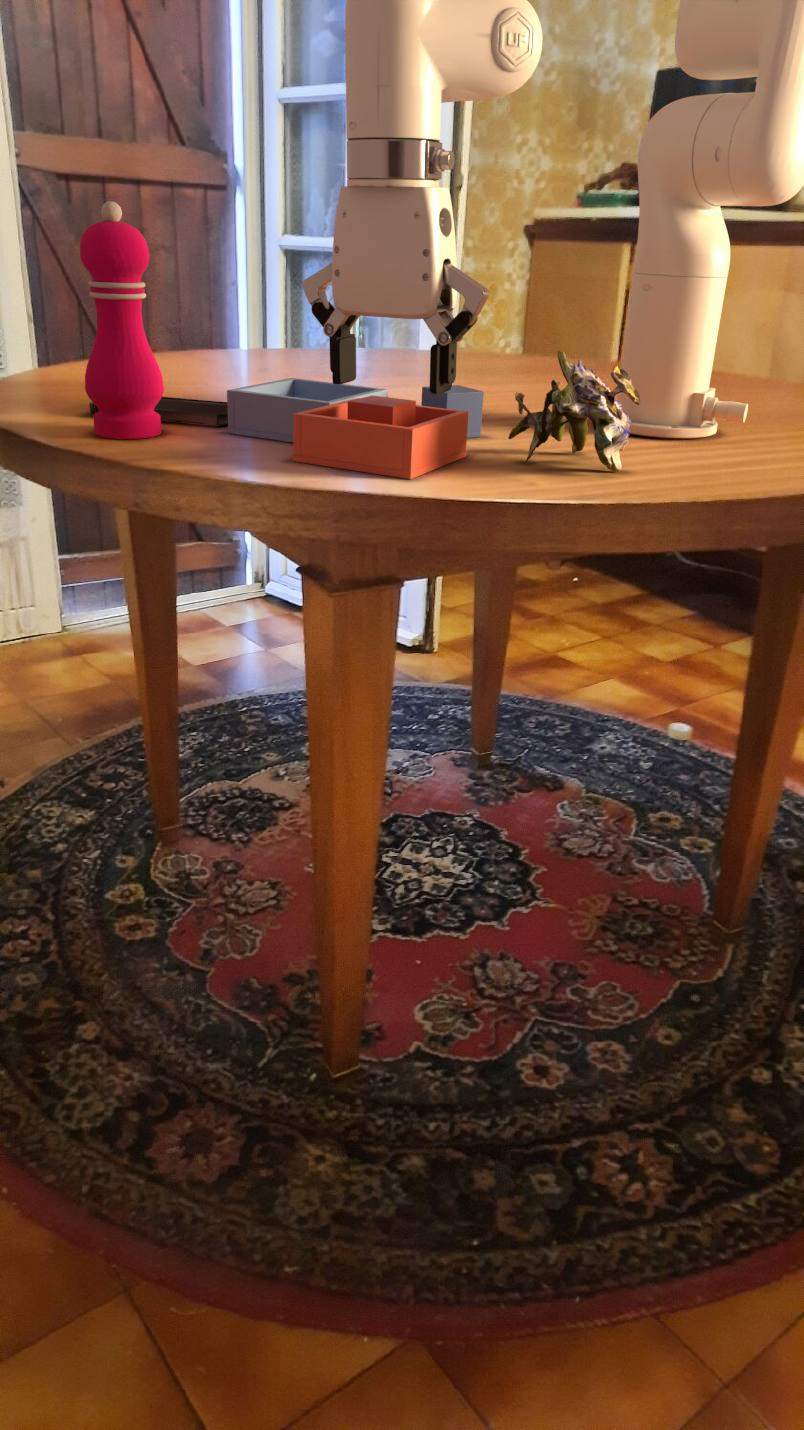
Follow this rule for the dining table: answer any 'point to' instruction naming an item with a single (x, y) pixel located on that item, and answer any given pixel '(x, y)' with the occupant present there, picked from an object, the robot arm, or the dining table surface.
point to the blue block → (459, 404)
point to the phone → (188, 411)
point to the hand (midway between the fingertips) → (391, 387)
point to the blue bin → (284, 405)
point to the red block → (383, 410)
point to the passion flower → (582, 412)
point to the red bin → (380, 441)
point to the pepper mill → (120, 331)
